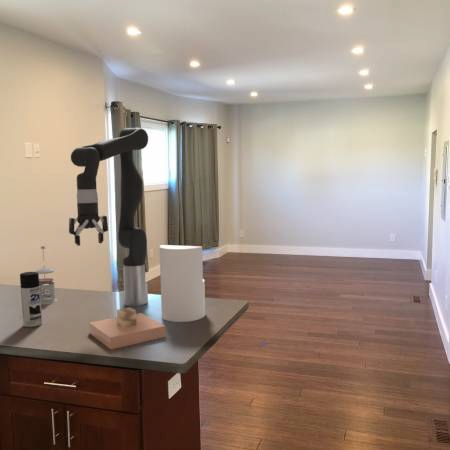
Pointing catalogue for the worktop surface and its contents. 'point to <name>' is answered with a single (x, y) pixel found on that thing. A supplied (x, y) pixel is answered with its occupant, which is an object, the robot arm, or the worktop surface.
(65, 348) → the worktop surface
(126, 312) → the maple block
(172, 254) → the cylinder
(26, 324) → the spray can
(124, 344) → the terracotta platform
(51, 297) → the french press
